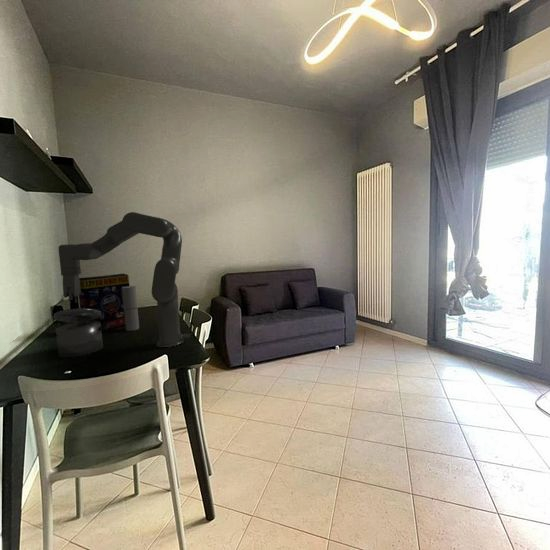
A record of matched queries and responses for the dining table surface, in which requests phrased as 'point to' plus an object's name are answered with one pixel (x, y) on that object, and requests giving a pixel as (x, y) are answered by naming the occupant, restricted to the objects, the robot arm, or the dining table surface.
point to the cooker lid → (77, 315)
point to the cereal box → (105, 297)
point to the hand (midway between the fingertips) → (75, 311)
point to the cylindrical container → (130, 308)
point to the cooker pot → (78, 338)
